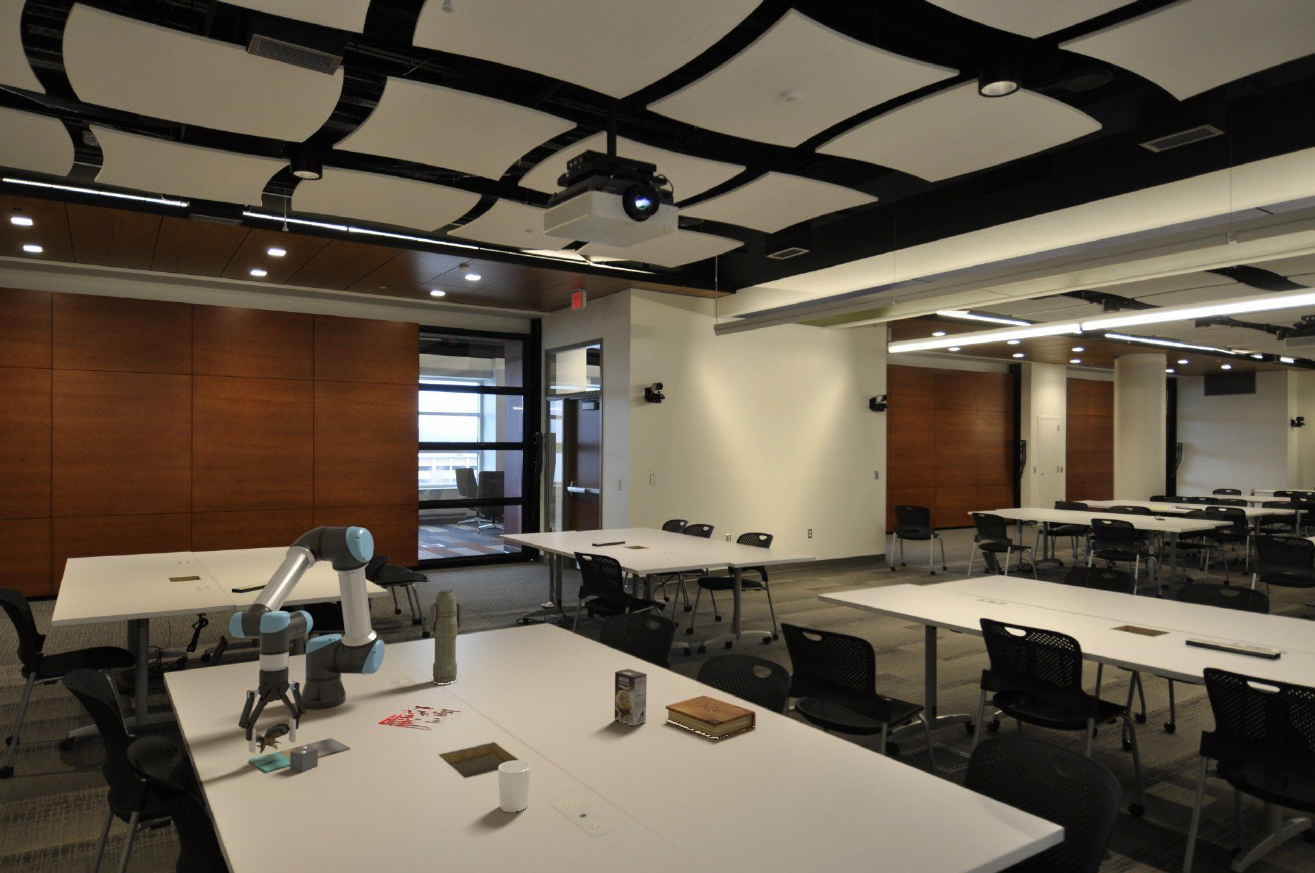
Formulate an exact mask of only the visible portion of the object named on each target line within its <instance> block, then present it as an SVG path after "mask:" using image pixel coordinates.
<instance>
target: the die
mask: <svg viewBox="0 0 1315 873" xmlns="http://www.w3.org/2000/svg"><path fill="white" fill-rule="evenodd" d="M318 763H319V758H318V749H317V748H313V747H308V746H304V747H301V748H298V749H296V750H293V751H291V752H290V766H289V769H291V771H294V770H295V771H294V772H298V773H302V772H303V773H306V772H308V771H310V770H312V768H313V769H315V768H317V766H318ZM307 770H308V771H307Z"/></svg>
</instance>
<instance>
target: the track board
mask: <svg viewBox="0 0 1315 873" xmlns="http://www.w3.org/2000/svg"><path fill="white" fill-rule="evenodd" d="M304 746H308V747H313V748H317V749H318V759H320V757H321V758H324V757H327V756H331V755H335V754H338V753H341V752H345V750H346V751H349V750H351V747H349V746H348V745H346V744H344V743H341V742H340V741H337V740H336V739H334V738H332V737H330V738H326V739H322V740H319V741H314V742H311V743H308V744H304V745H300V746H296V747H292V748H288V749H285V750H281V751H277V752H273V753H269V754H266V755H261V756H258V757H255V758H250V759H248V763H250V762H251V764H252V763H253V764H254V766H255V767H257V768H258V769H260V770H261V769H262V770H261V771H263V770H264V771H265V772H264V771H263V772H264V773H266V772H268V773H271V772H274V771H273V770H275V771H278V770H281V769H280V768H282V769H285V768H288V767H287V766H289V767H290V752H291V751H293V750H296V749H298V748H301V747H304ZM253 764H252V765H253ZM284 767H285V768H284ZM277 769H278V770H277ZM270 771H271V772H270Z"/></svg>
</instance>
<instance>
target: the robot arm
mask: <svg viewBox="0 0 1315 873" xmlns="http://www.w3.org/2000/svg"><path fill="white" fill-rule="evenodd" d="M374 546H375V545H374V538H373V536H372V534H371V533H370V531H369V530H368V529H367V528H364V527H358V526H319V527H315V528H313V529H311V530H309V531H307V532H305V533H304V534H302V535H301V536H300V537H298V538H297V539H296V540H295V541H294V542H293V543H291V545H290V547H289V548H288V549H287V550H286V552H285V555H286V556H285V559H284V560H283V561H282V563H281V564H280V565H279V567H278V568H277V570H276V571H274V574H273V575H272V576H271V578H270V579H269V580H268V581H267V583H266V585H265V586H264V587H263V589H261V591H260V592H259V594H258V596H256V598H255V599H254V600H253V602H252V603H251V605H250V606H249V608H248V609H247V610H246V611H245V610H244V611H238V612H235V613H234V614H233V615H232V616H231V618H230V621H229V626H228V629H229V631H230V635H231V636H233V637H234V638H242V639H244V638H245V639H259V643H260V644H259V647H260V648H259V668H260V669H259V671H258V684H259V685H258V688H257V689H253V690H250V689H248V690H247V691H246V700H245V704H244V707H243V710H242V713H241V716H240V718H239V722H238V727H239V728H241V729H244V730H245V739H246V741H247V742H248V751H249V752H250V753H252V754H255V753H256V748H257V745H256V744H257V743H256V735H257V734H256V733H257V729H256V728H255V725H256V723H257V721H258V720H259V717H260V716H261V714H262V713H263V711H264V710H265V707H266V706H268V704H269V703H273V702H274V701H282V703H283V704H284V707H285V708H286V709H287V711H288V712H289V713H290V715H291V717H289V718H288V726H289V728H290V731H289V732H288V741H289V742H290V743H296V740H297V739H296V736H297V735H296V731H297V730H299V727H300V725H299V723H300V719H301V717H302V716H303V715H306V713H307V710H306V709H327V708H333V707H336V706H339V705H341V704H343V703H345V702H346V701H347V693H346V690H345V687H344V684H343V681H342V674H344V675H346V674H348V675H349V674H351V675H352V674H353V675H355V674H356V675H368V674H369V675H373V674H375V673H377V671H378V670H380V668H381V666H382V664H383V661H384V658H385V653H386V652H385V650H386V649H385V648H386V645H385V642H384V640H381V639H378V636H377V632H376V631H375V630H373V629H372V622H371V613H370V606H369V598H368V587H367V580H366V579H367V578H366V570H365V569H366V567H367V566H368V565H369V562H370V560H372V558H373V555H374V549H375V547H374ZM318 562H331V567H332V570H333V571H335V572H337V576H338V577H337V578H338V584H339V585H338V586H339V593H340V601H341V609H342V617H343V626H344V633H345V634H344V635H343V636H342V634H341V633H333V634H332V633H331V634H324V635H321V636H316V637H313V638H311V639H309V640H308V641H307V643H306V646H305V647H306V648H305V681H304V685H303V688H302V691H300V688H301V686H300V685H301V684H300V683H299V681H295V680H292V682H289V676H290V675H289V667H288V666H289V664H290V663H289V662H290V642H291V641H294V640H295V639H298V638H301V637H303V636H304V637H305V635H306V634H308V633H309V632H310V631H311V630H312V628H313V626H314V621H313V617H312V615H311V614H310V613H309V612H308V611H306V610H295V611H293V612H288V611H286V610H285V611H284V610H280V609H281V608H282V606H283V605H284V603H285V602H286V600H287V599H288V597H289V596H290V594H291V593H292V592H293V590H294V588H295V587H297V584H298V583H299V581H300V580H301V578H302V577H303V576H304V574H305V573H306V571H307V570H309V569H311V568H312V567H314V565H315V564H316V563H318ZM289 689H290V691H291V693H292V697H293V699H294V700H293V701H294V702H295V705H294V704H293V703H292V701H291V700H290V698H289V696H288V695H287V694H286V693H287V692H288V691H289ZM258 695H259V699H258V701H257V704H256V705H255V707H254V704H255V700H256V698H257V696H258ZM295 706H296V707H295ZM253 707H254V709H253Z"/></svg>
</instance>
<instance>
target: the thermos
mask: <svg viewBox="0 0 1315 873" xmlns="http://www.w3.org/2000/svg"><path fill="white" fill-rule="evenodd" d="M455 594H456V593H455V591H453V590H451V589H450V590H449V589H445V590H444V589H443V590H440V591H438V592H437V594H436V597H435V602H434V603H432V605H431V606H430V608H429V630H430V632H433V638H434V662H433V665H432V677H433V681H434V682H436V683H448V682H451V681H455V680H456V681H457V675H458V664H457V660H456V659H457V657H456V656H457V655H456V654H457V653H456V652H457V650H456V648H457V642H456V640H457V636H458V630H459V629H460V628H461V627H462V619H461V618H462V606H461V604H460V603H459V602H458V601H457V598H456V595H455ZM434 609H435V614H434ZM456 612H457V615H456ZM434 616H435V617H434Z"/></svg>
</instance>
